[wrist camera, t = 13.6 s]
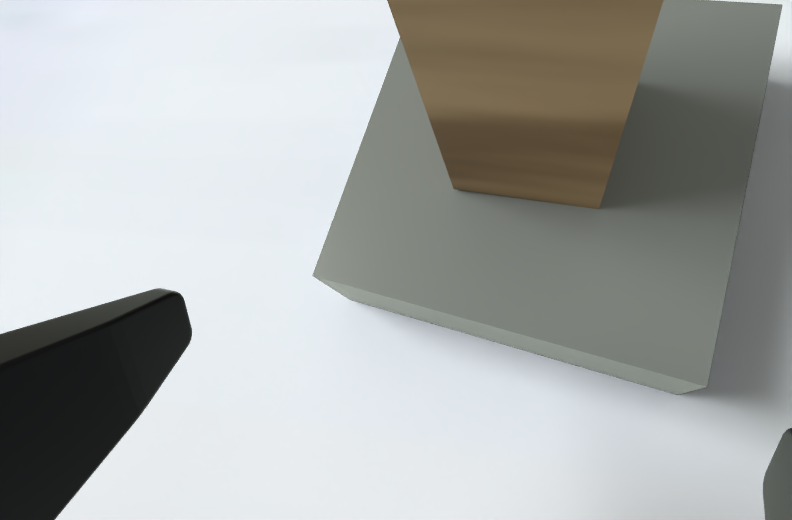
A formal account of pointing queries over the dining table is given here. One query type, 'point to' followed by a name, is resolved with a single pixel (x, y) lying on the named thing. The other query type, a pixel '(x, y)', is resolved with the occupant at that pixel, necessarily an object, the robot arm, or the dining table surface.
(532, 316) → the gray box
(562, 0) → the bronze block
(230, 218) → the dining table surface
